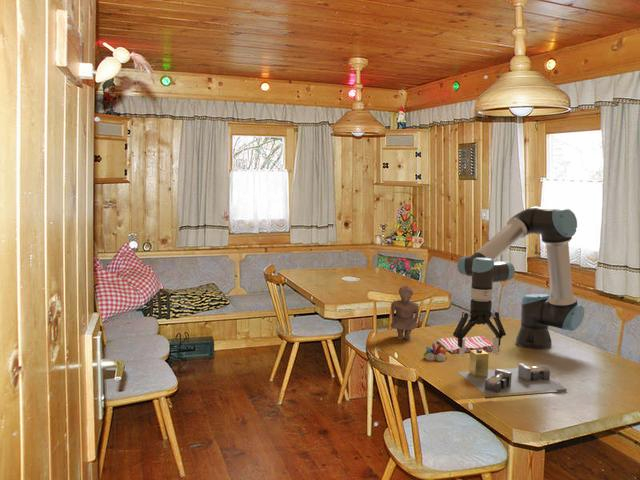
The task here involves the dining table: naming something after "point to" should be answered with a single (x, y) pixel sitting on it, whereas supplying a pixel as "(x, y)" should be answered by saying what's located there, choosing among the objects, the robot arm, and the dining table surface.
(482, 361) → the tan rectangular block
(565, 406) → the dining table surface
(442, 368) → the dining table surface
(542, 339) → the robot arm
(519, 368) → the grey metal block
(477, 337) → the dish towel
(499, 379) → the grey notched block
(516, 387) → the grey base plate
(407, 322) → the clay figurine
